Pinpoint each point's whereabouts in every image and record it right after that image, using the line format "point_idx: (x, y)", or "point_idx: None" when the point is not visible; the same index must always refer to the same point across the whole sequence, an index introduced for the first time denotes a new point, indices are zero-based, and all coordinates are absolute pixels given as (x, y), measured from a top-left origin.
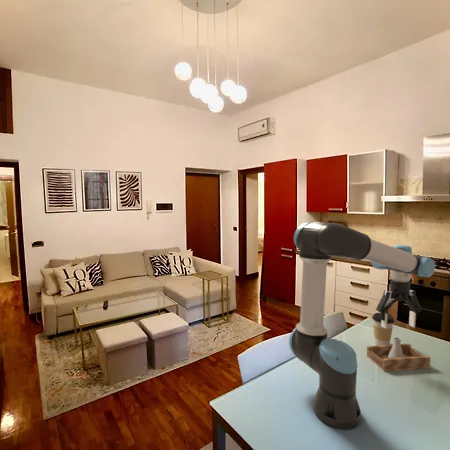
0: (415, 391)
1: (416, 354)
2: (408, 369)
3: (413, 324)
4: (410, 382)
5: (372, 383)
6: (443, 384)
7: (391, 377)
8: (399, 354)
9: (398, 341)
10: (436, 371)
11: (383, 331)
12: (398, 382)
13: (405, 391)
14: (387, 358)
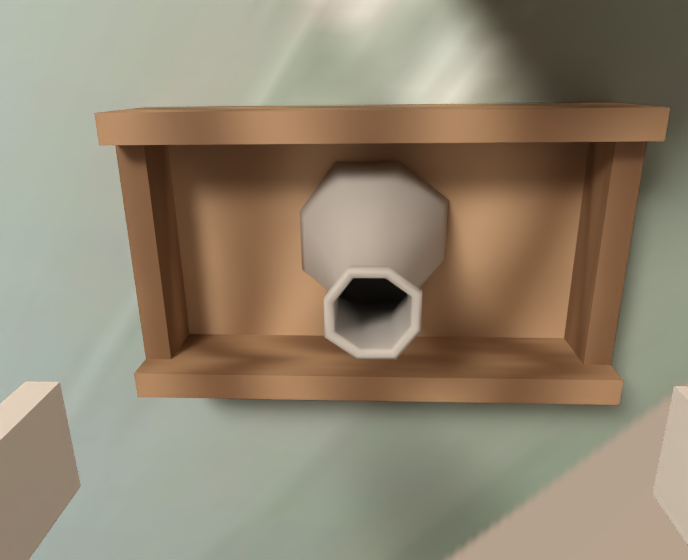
0: (250, 546)
1: (594, 251)
2: None
3: (684, 534)
4: (283, 475)
5: None
6: (488, 518)
7: (187, 415)
8: (362, 307)
9: (360, 342)
10: None
11: None
12: (201, 466)
13: (189, 539)
14: (181, 376)
